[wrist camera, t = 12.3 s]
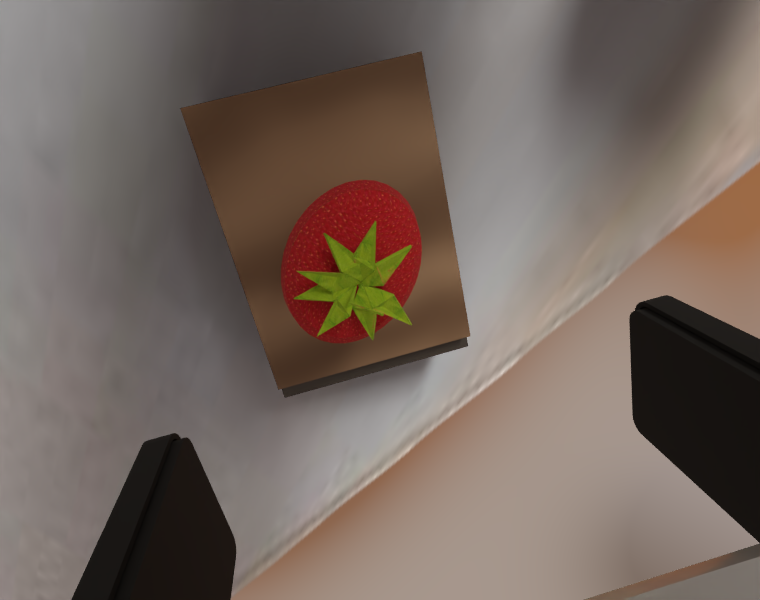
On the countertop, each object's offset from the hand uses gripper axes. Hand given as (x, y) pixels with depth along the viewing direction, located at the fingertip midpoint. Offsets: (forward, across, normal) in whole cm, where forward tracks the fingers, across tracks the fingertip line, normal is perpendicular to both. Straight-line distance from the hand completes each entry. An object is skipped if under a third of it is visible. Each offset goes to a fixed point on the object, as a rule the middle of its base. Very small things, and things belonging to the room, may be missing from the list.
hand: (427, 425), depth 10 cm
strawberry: (+18, 0, 0) cm, 18 cm away
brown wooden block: (+24, 0, 0) cm, 24 cm away
